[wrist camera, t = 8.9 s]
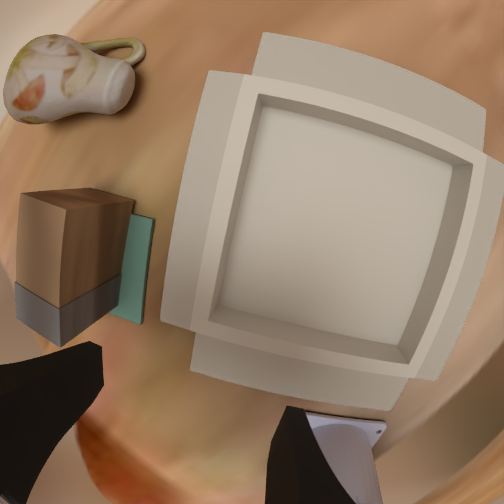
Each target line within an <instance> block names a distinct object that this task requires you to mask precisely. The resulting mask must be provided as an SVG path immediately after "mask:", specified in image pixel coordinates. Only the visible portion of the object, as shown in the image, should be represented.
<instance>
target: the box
mask: <svg viewBox="0 0 504 504" xmlns="http://www.w3.org/2000/svg"><path fill="white" fill-rule="evenodd" d="M133 203H134V200H130V199H127V198H123V197H120V196H117V195H113V194H110V193H106V192H103V191H100V190H96V189H93V188H80V189H64V190H50V191H38V192H27V193H21V196H20V204H19V215H18V227H17V248H16V282H15V302H16V314H17V319H19V320H20V321H21V322H23V323H24V324H26V325H27V326H28V327H30V328H31V329H33V330H34V331H36V332H37V333H39V334H40V335H42V336H43V337H45V338H46V339H48V340H49V341H51V342H52V343H54V344H56V345H57V346H59V347H60V348H61V347H62V346H64V345H65V344H66V343H68V342H69V341H70V340H72V339H73V338H74V337H76V336H77V335H78V334H80V333H81V332H82V331H84V330H85V329H86V328H88V327H89V326H90V325H92V324H93V323H95V322H96V321H97V320H99V319H100V318H101V317H103V316H104V315H105V314H107V313H108V312H110V311H111V310H112V309H114V308H115V307H117V306H118V303H119V294H120V286H121V279H122V274H121V270H122V263H123V257H124V251H125V245H126V239H127V233H128V228H129V223H130V218H131V213H132V208H133Z"/></svg>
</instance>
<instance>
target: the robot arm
mask: <svg viewBox="0 0 504 504" xmlns="http://www.w3.org/2000/svg"><path fill="white" fill-rule="evenodd" d="M103 386H104V379H103V362H102V346H99V345H97V344H95V343H93V342H91V341H88V342H85V343H81V344H78V345H75V346H72V347H69V348H66V349H63V350H60V351H57V352H54V353H51V354H48V355H44V356H41V357H37V358H33V359H29V360H26V361H21V362H17V363H11V364H4V365H0V496H1V497H2V498H3V499H4V500H5V501H7V502H8V503H9V504H26V502H27V499H28V497H29V495H30V492H31V490H32V488H33V486H34V483H35V481H36V479H37V477H38V475H39V473H40V472H41V470H42V468H43V466H44V465H45V463H46V461H47V459H48V458H49V456H50V455H51V453H52V451H53V450H54V448H55V447H56V445H57V444H58V442H59V441H60V440H61V439H62V437H63V436H64V435H65V434H66V433H67V431H68V430H69V429H70V428H71V427H72V426H73V425H74V424H75V422H76V421H77V420H78V419H79V418H80V417H81V416H82V415H83V413H84V412H85V411H86V410H87V409H88V408H89V407H90V405H91V404H92V403H93V401H94V400H95V398H96V397H97V395H98V394H99V392H100V391H101V389H102V387H103ZM386 427H387V425H386V422H383V421H371V420H361V419H352V418H343V417H336V416H329V415H322V414H316V413H310V412H305V411H304V409H302V408H297V407H291V406H286V409H285V411H284V413H283V416H282V418H281V420H280V423H279V425H278V427H277V429H276V432H275V434H274V436H273V438H272V441H271V446H270V451H269V457H268V462H267V478H266V495H265V504H383V502H382V497H381V492H380V487H379V482H378V477H377V473H376V468H375V463H374V459H373V454H372V450H371V449H372V447H373V446H374V445H375V443H376V442H377V441H378V439H379V438H380V436H381V435H382V433H383V432H384V431H385V429H386ZM378 430H379V431H378ZM0 504H3V503H2V502H1V501H0Z"/></svg>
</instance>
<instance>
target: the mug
mask: <svg viewBox="0 0 504 504" xmlns="http://www.w3.org/2000/svg"><path fill="white" fill-rule="evenodd" d="M116 47H133V49H134V50H133V52H132V54H131V55H129V56H127V57H125V58H122V59H116V58H110V57H104V56H101V55H98V54H96V53H94V52H98V51H101V50H105V49H110V48H116ZM144 56H145V47H144V45H143V43H142V42H141V41H139V40H137V39H134V38H120V39H113V40H106V41H96V42H90V43H79V42H77V41H75V40H73V39H71V38H69V37H66V36H63V35H57V34H53V35H45V36H41V37H37V38H35V39H33V40H31V41H30V42H29V43H27V44H26V45H25V46H24V47H23V48H22V49H21V50H20V51H19V52H18V53H17V55H16V56H15V58H14V60H13V61H12V63H11V65H10V68H9V70H8V73H7V76H6V80H5V84H4V89H3V96H4V104H5V107H6V109H7V111H8V113H9V115H10V116H11V117H12V118H13V119H14V120H16V121H18V122H22V123H26V124H43V123H48V122H51V121H54V120H58V119H61V118H64V117H67V116H70V115H73V114H76V113H82V112H92V113H100V114H105V115H112V114H114V113H116V112H117V111H119V110H121V109H122V108H123V107H125V106H126V104H127V103H128V101H129V100H130V98H131V96H132V93H133V90H134V86H135V73H134V70H133V68H132V67H131V66H132V65H134V64H135V63H137V62H139V61H140V60H141V59H142V58H143V57H144Z"/></svg>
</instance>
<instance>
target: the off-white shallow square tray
mask: <svg viewBox="0 0 504 504" xmlns="http://www.w3.org/2000/svg"><path fill="white" fill-rule="evenodd" d="M485 120H486V109H485V108H483V107H482V106H480V105H478V104H476V103H475V102H473V101H471V100H469V99H468V98H466V97H464V96H462V95H460V94H458V93H456V92H454V91H452V90H451V89H449V88H447V87H445V86H442V85H440V84H438V83H436V82H434V81H432V80H430V79H427V78H425V77H423V76H421V75H418V74H416V73H414V72H411V71H409V70H406V69H404V68H401V67H399V66H396V65H393V64H391V63H388V62H385V61H382V60H380V59H377V58H374V57H371V56H368V55H364V54H361V53H358V52H355V51H351V50H348V49H344V48H341V47H337V46H333V45H329V44H325V43H321V42H316V41H312V40H307V39H302V38H297V37H292V36H286V35H280V34H274V33H267V32H263V35H262V39H261V42H260V46H259V49H258V53H257V57H256V60H255V64H254V68H253V71H252V75H246V74H239V73H231V72H222V71H213V70H209V72H208V76H207V79H206V83H205V86H204V90H203V93H202V97H201V101H200V105H199V108H198V112H197V116H196V120H195V124H194V128H193V132H192V136H191V140H190V145H189V149H188V153H187V158H186V162H185V167H184V172H183V176H182V181H181V186H180V191H179V196H178V201H177V206H176V212H175V217H174V223H173V229H172V235H171V241H170V247H169V253H168V260H167V267H166V274H165V281H164V288H163V296H162V304H161V313H160V321H162V322H165V323H168V324H171V325H174V326H177V327H180V328H184V329H187V330H190V331H193V332H196V335H195V341H194V347H193V353H192V359H191V365H190V370H191V371H194V372H197V373H200V374H203V375H207V376H210V377H213V378H217V379H220V380H224V381H228V382H231V383H235V384H239V385H242V386H246V387H250V388H254V389H259V390H263V391H267V392H272V393H276V394H281V395H285V396H290V397H295V398H300V399H306V400H311V401H317V402H323V403H329V404H336V405H343V406H350V407H358V408H366V409H375V410H386V411H391V409H392V408H393V406H394V404H395V403H396V401H397V399H398V398H399V396H400V394H401V392H402V391H403V389H404V387H405V385H406V384H407V382H408V380H409V378H414V379H423V380H433V381H436V380H437V378H438V377H439V375H440V373H441V371H442V369H443V367H444V366H445V364H446V362H447V360H448V358H449V356H450V354H451V352H452V350H453V348H454V346H455V344H456V342H457V339H458V337H459V335H460V333H461V331H462V328H463V326H464V324H465V322H466V319H467V317H468V314H469V312H470V309H471V307H472V304H473V302H474V299H475V297H476V294H477V291H478V288H479V286H480V283H481V280H482V277H483V274H484V271H485V268H486V264H487V261H488V258H489V254H490V251H491V247H492V244H493V240H494V236H495V232H496V228H497V224H498V219H499V215H500V210H501V205H502V200H503V194H504V164H502V163H500V162H499V161H497V160H495V159H493V158H492V157H490V156H488V155H486V154H485V153H483V144H484V133H485Z"/></svg>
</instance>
